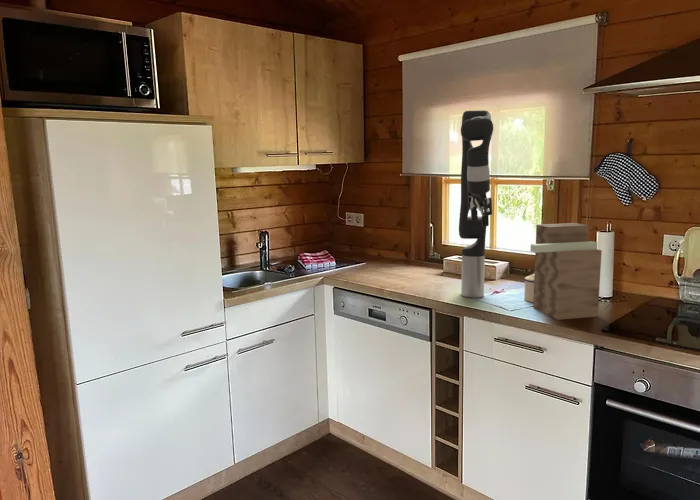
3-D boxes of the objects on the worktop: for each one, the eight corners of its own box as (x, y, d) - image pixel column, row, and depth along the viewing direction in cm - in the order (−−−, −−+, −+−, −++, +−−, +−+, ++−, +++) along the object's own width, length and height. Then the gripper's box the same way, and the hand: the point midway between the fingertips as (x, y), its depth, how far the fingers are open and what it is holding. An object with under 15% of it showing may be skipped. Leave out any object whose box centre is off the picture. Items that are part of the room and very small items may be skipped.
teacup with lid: (542, 304, 207) (544, 275, 205) (520, 300, 213) (521, 272, 211) (553, 298, 216) (554, 270, 214) (531, 294, 222) (532, 267, 220)
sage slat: (530, 251, 187) (530, 244, 187) (591, 248, 191) (592, 241, 191) (534, 252, 184) (535, 245, 184) (596, 249, 188) (597, 242, 188)
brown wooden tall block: (533, 307, 202) (536, 224, 197) (570, 305, 205) (575, 222, 200) (557, 319, 187) (561, 229, 182) (597, 316, 190) (603, 227, 185)
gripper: (498, 179, 177) (499, 226, 182) (479, 173, 190) (480, 217, 195) (477, 183, 176) (479, 230, 181) (459, 176, 189) (461, 220, 194)
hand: (479, 223), depth 188 cm, fingers open, 8 cm apart
